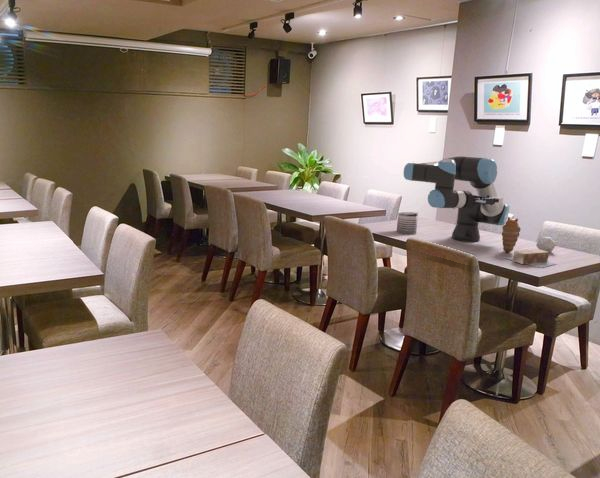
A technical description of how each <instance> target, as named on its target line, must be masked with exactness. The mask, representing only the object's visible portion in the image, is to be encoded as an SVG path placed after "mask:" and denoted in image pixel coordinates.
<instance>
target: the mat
mask: <svg viewBox="0 0 600 478" xmlns="http://www.w3.org/2000/svg"><path fill="white" fill-rule="evenodd" d="M505 260H510V261H512V262H514V261H513V256H509V257H505ZM527 265H529V266H533V267H536V266H537V268H541V269H544V268H547V267H550V266H555V265H557V263H556V262H551V261H549V260H548V261H547V262H545V263H533V264H527ZM543 267H544V268H543Z"/></svg>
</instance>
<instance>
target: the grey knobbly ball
mask: <svg viewBox="0 0 600 478" xmlns="http://www.w3.org/2000/svg"><path fill="white" fill-rule="evenodd" d="M535 246H536V247H537V249H540V250H543V251H547V252H549V254H551V253H552V252H553V251H554V249H555V247H556V246H557V243H556V242H555V241H554V239H552V237H551V236H540V237H539V239H538V241H537V242H536V244H535Z"/></svg>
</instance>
